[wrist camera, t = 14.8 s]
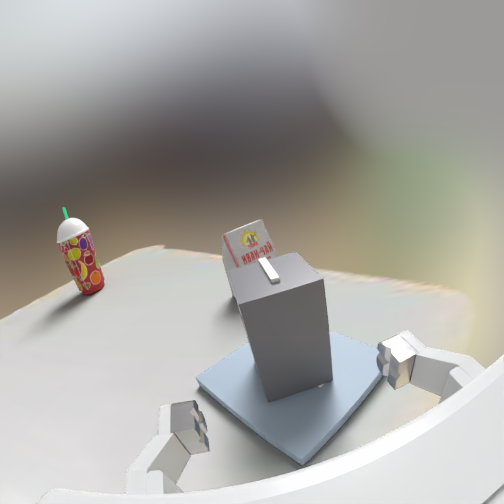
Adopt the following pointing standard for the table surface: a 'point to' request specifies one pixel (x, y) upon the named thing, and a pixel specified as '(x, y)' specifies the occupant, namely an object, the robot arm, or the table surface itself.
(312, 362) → the tall gray block
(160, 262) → the table surface
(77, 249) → the smoothie
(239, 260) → the white paper bag
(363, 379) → the panel
